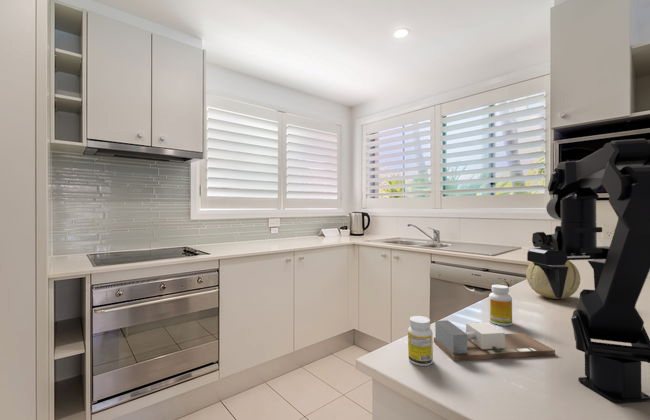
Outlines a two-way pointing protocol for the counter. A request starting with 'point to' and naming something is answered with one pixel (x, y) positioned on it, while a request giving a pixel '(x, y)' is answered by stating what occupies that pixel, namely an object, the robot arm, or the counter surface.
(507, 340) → the base
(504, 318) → the supplement bottle
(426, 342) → the supplement bottle
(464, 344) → the gray concrete brick
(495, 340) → the gauge carriage
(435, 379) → the counter surface
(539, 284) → the cantaloupe
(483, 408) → the counter surface
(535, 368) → the counter surface
